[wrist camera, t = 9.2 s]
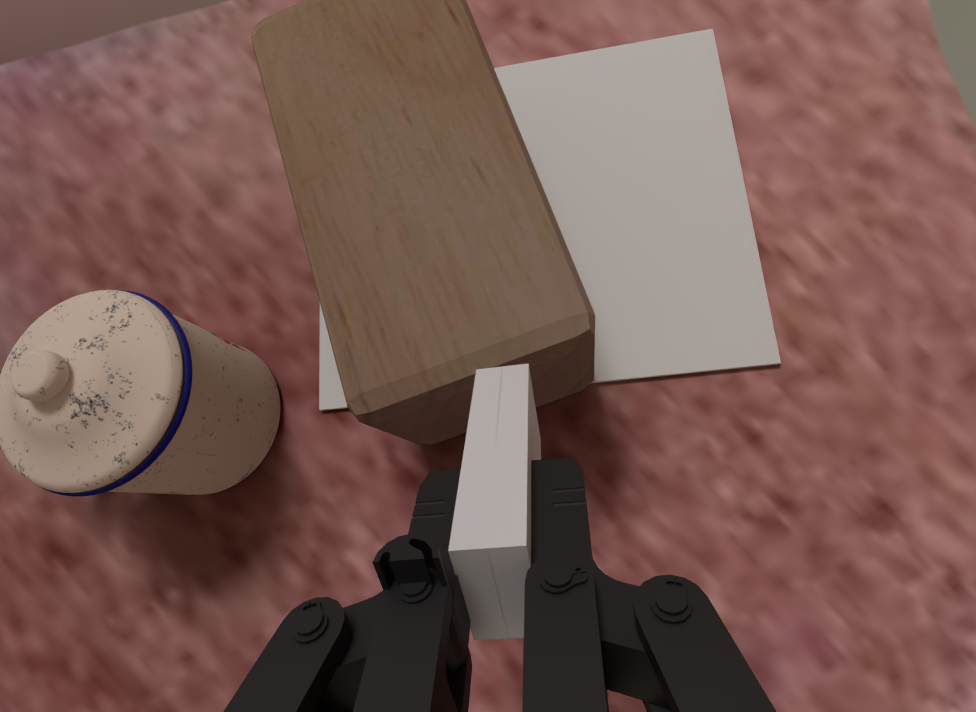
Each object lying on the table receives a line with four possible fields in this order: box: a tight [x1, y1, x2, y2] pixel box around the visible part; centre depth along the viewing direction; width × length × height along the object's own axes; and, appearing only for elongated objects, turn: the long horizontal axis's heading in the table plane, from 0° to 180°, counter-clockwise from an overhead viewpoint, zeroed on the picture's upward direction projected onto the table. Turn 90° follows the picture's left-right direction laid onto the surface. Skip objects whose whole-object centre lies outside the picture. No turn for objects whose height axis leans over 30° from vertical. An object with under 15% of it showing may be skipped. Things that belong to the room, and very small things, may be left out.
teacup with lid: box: [0, 290, 280, 496], centre depth 28 cm, size 12×9×12 cm
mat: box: [319, 29, 781, 411], centre depth 34 cm, size 24×20×1 cm
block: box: [252, 0, 595, 445], centre depth 29 cm, size 10×10×20 cm
